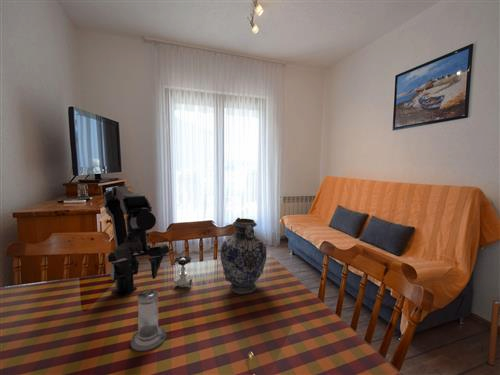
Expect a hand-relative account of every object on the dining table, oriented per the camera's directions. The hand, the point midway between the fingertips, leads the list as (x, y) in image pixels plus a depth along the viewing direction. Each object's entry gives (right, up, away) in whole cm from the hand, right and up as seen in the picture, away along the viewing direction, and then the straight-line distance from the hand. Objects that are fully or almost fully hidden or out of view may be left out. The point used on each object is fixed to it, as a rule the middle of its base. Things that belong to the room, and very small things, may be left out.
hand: (141, 280), depth 75 cm
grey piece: (+7, -11, -10) cm, 17 cm away
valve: (+8, -11, +19) cm, 24 cm away
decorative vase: (+33, -11, +20) cm, 40 cm away
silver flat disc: (+7, -13, -10) cm, 17 cm away
